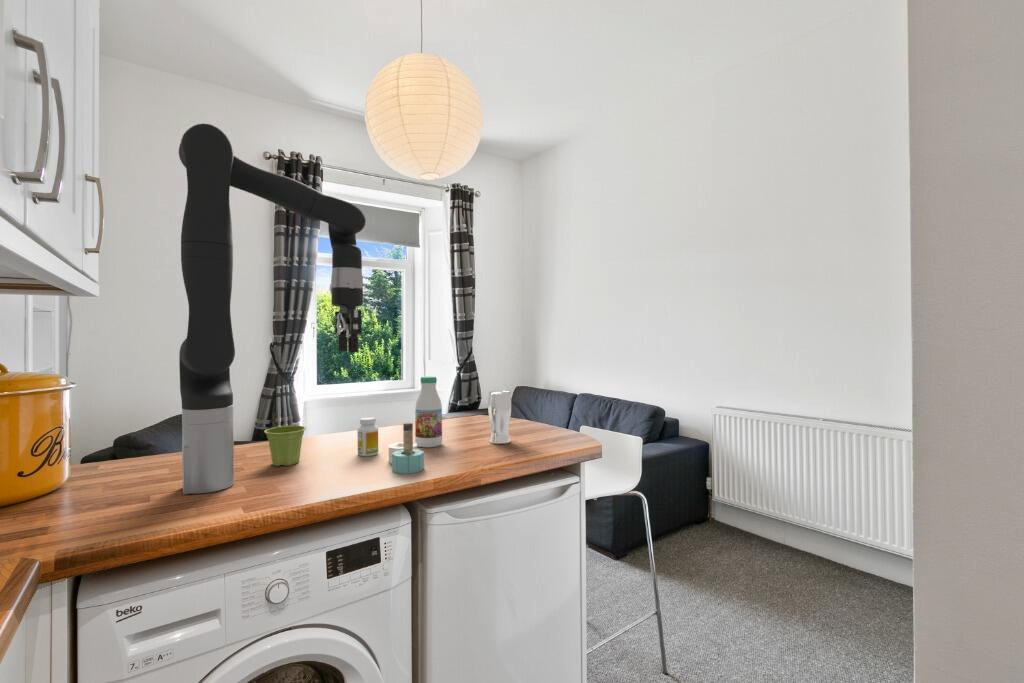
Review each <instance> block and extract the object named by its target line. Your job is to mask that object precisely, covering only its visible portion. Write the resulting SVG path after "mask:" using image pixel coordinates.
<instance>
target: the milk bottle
mask: <svg viewBox="0 0 1024 683" xmlns="http://www.w3.org/2000/svg"><path fill="white" fill-rule="evenodd" d="M437 380H438V379H437V377H436V376H431V375H430V376H421V377H420V385H421V388H420V391H419V394H418V397H417V399H416V402H415V414H414V416H415V418H414V419H415V420H414V422H415V423H414V424H415V426H414V428H415V429H414V430H415V431H414V432H415V433H414V434H415V437H414V439H415V441H414V443H417V448H418V447H419V448H436V447H439V446H441V445H442V444H443V406H442V401H441V397H440V396H439V393H438V391H437V390H438V389H437V388H436V387H437V386H436V385H437Z"/></svg>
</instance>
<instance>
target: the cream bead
mask: <svg viewBox="0 0 1024 683" xmlns="http://www.w3.org/2000/svg"><path fill="white" fill-rule="evenodd" d="M413 449H418V446H417V443H416V442H413ZM398 450H403V441H401V442H399V441H398V442H395V443H394V442H393V443H391V444H390V443H389V444H388V464H391V465H392V453H394V452H395V451H398Z"/></svg>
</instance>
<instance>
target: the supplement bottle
mask: <svg viewBox="0 0 1024 683" xmlns="http://www.w3.org/2000/svg"><path fill="white" fill-rule="evenodd" d="M359 420H360V421H359V424H360V426H358V428H357V455H358V456H360V457H371V456H376V455H378V454H379V427H378V426H377V425H375V424H376V422H377V421H376V417H372V416H371V417H370V416H369V417H368V416H367V417H361V418H360V419H359Z"/></svg>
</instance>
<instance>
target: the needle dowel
mask: <svg viewBox="0 0 1024 683" xmlns="http://www.w3.org/2000/svg"><path fill="white" fill-rule="evenodd" d="M402 426H403V428H402V430H403V432H402V434H403V437H402V439H403V441H402V442H403V453H404V454H405V455H409V454H413V443H414V437H413V436H414V434H413V433H414V432H413V431H414V430H413V429H414V428H413V427H414V424H413V422H405V423H403V424H402Z"/></svg>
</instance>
